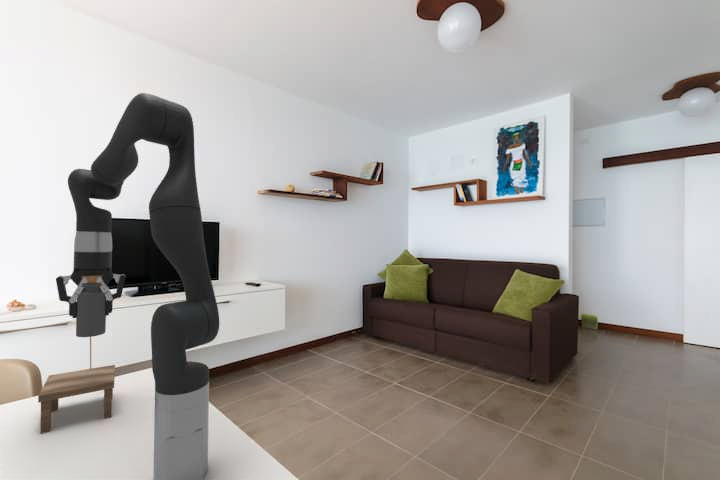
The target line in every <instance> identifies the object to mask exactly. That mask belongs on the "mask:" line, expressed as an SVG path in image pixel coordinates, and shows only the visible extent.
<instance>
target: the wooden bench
mask: <svg viewBox="0 0 720 480" xmlns="http://www.w3.org/2000/svg"><path fill="white" fill-rule="evenodd" d="M115 373H116V364H112V365H110V364H109V365H106V366H99V367H93V368H87V369H82V370H81V369H80V370H73V371H69V372H62V373H61V372H60V373H56V374H50V375H48V376H47V379H46V381H45V382H44V384H43V386H42V387H41V390H40V392H39V393H38V397H37V399H38V401H37V402H38V404H39V403H40V426H39V427H40V428H39V429H40V431H39V433H40V434H45V433H49V432H51V429H52V413H54V412H58V410H59V399H64V398H69V397H74V396H79V395H84V394H90V393H95V392H99V391H103V419H105V420H106V419H108V418H112V415H113V411H112V410H113V397H114V396H113V395H114V393H113V391H114V389H115V378H116V376H115Z"/></svg>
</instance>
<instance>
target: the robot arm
mask: <svg viewBox="0 0 720 480" xmlns="http://www.w3.org/2000/svg"><path fill="white" fill-rule="evenodd" d="M194 128H195V127H194V121H193V117H192V114H191V112H190V111H189V109H188V108H186V107H185V106H184V105H181V104H180V103H177V102H175V101H172V100H168V99H165V98H162V97H159V96H158V95H154V94H151V93H146V92H140V93H138V94H136V95H135V96H134V97H133V98H132V99H131V100H130V101H129V103H128V105H127V106H126V108H125V110H124V112H123V114H122V115H121V118H120V119H119V121H118V123H117V125H116V128H115V130H114V131H113V134H112V136H111V138H110V140H109V142H108V143H107V146H106V147H105V148H104V149H103V151H102V152H101V153H100V154H99V155H98V156H97V157H96V158H95V159H94V161H92V164H91V166H90V169H86V168H77V169H73V170H72V171H71V172H70V174H69V175H68V177H67V178H68V179H67V185H68V191H69V193H70V196H71V198H72V202H73V205H74V206H73V207H74V210H75V213H76V214H75V216H76V218H75V219H76V223H75V224H76V225H75V236H74V245H73V271H72V273H71V274H70V275H59V276H57V277H56V279H55V282H56V288H57V293H58V299H59V301H60V302H64V303H65V302H66V303H68V305H69V306H68V315H69V317H71V318H72V319H76V314H77V298H78V295H79V294H80V293H81V292H82V290H83V288H84V287H81V286H82V284H84V283H87V282H88V281H87V280H86V278H85V277H84V278H83V279H82V277H81V276H92V275H103V276H102V278H101V277H98V279H97V280H96V282H97V283H101V286H100V288H101V290H102V292H103V293H104V294H105V297H106V311H105V316H106V317H107V316H109V315H110V314H111V313H112V312H113V303H114V302H113V301H114V300H116V299H120V298H122V294H123V290H124V285H125V282H126V275H125V274H124V273H122V274H117V273H113V271H112V270H113V269H112V261H113V260H112V259H113V248H114V247H113V236H112V227H113V226H112V222H113V215H112V213H111V211H110V210H109V209H105V208H101V207H97V206H95V205H93V203H92V202H91V200H90V199H93V200H101V201H102V200H103V201H110V200H111V201H112V200H116V199H117V198H118V197H120V195H121V192H122V188H123V185H124V182H125V181H126V180H127V178H129V176H131V175H132V173H134V172H135V170H136V169H137V167H138V165H139V154H138V150H137V148H136V145H135V144H136V143H138V141H140V140H144V141H145V142H149V143H152V144H157V145H160V146H161V145H162V146H165V147H167V148H168V149H167V150H168V153H169V164H168V169H167V171H166V173H165V175H164V177H163V178H162V180H161V181H160V183H159V184H158V186H157V187H156V188H155V190H154V192H153V194H152V196H151V198H150V200H149V203H148V214H149V222H150V230H151V236H152V239H153V241H154V243H155V245H156V246H157V247H158V249H159V250H160V252H161V253H162V255H164V257H165V258H166V260H167V261H168V262H169V263H170V264H171V265H172V267H173V268H174V269H175V270H176V272H177V274H178V275H179V277H180V279H181V282H182V284H183V285H182V286H183V290H184V295H185V300H182V301H174V302H169V303H165V304H161V305H160V306H157V308H156V309H155V311H154V312H153V314H152V318H151V323H150V341H151V342H150V343H151V345H150V346H151V367H152V368H151V370H152V374H153V378H154V419H153V420H154V422H153V423H154V425H153V427H154V429H153V433H154V434H153V475H152V476H153V477H152V478H153V480H204V476H205V475H206V473H207V472H208V470H209V469H208V468H209V467H208V466H209V465H208V464H209V410H210V409H209V406H210V405H209V404H210V403H209V401H210V368H209V367H208V365H207V364H205V363H203V362H199V361H187V353H186V352H187V350H190V349H194V348H197V347H200V346H202V345H203V346H204V345H207V344H208V343H211V342H213V341H214V340H215V339H216V337H217V336H218V333H219V330H220V314H219V308H218V303H217V298H216V296H215V295H216V294H215V291H214V286H213V282H212V278H211V274H210V269H209V264H208V259H207V251H206V245H205V244H206V243H205V240H204V239H205V238H204V226H203V220H202V219H203V218H202V217H203V216H202V211H201V205H200V198H199V192H198V184H197V176H196V174H197V173H196V164H195V163H196V161H195V131H194V130H195V129H194ZM112 279H114V280H115V283H116V284H117V288H116V292H114V293H112V291H110V288H109V286H108V283H110V281H111V280H112ZM70 280H71V281H72V282H73V283H74V284H75V285H76V289H75V290H74V292H73V293H72V296H71V295H68V293H67V287H66V285H68V284H69V281H70ZM102 285H103V286H102Z"/></svg>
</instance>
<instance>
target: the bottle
mask: <svg viewBox="0 0 720 480" xmlns="http://www.w3.org/2000/svg"><path fill="white" fill-rule="evenodd" d="M102 276H103V275H92V276H81V277H82V279H83V278H84V277H85V278H86V280H87V281H88V282H87V283H84V284H82V286H81V287H84V288H83V290H82V292H81V293H80V294H79V295H78V298H77V300H76V302H77V314H76V318H75V336H76V337H78V338H90V337H97V336H101V335H104V334H105V333H106V329H107V328H106V325H107V324H106V322H107V321H106V320H107V316H105V311H106V300H107V298H106V297H105V294H104V293H103V292H102V290H101V288H100V286H101V283H97V282H96V280H97V279H98V277H101V278H102ZM102 286H103V285H102Z"/></svg>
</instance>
